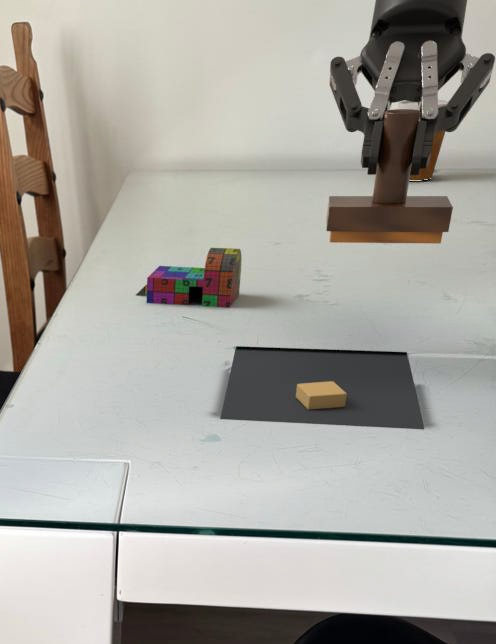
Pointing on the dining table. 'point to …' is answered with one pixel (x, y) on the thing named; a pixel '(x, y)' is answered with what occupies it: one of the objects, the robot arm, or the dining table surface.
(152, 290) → the block
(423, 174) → the disposable coffee cup
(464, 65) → the robot arm
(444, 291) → the dining table surface
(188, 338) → the dining table surface
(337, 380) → the scrub mat
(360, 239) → the scrub brush
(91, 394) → the dining table surface
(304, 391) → the tan flat square block
